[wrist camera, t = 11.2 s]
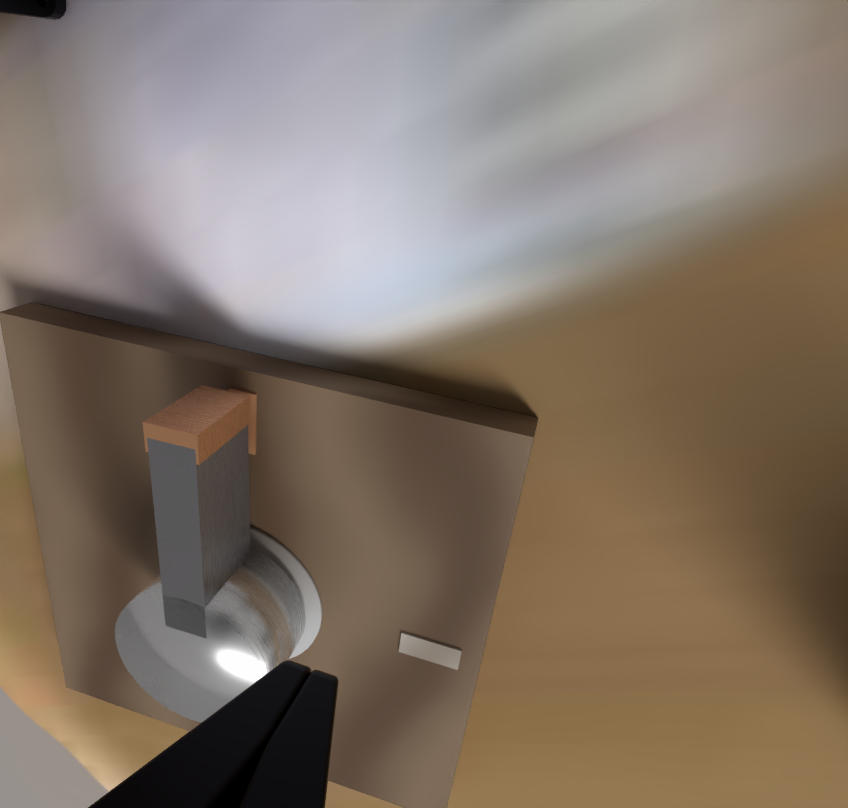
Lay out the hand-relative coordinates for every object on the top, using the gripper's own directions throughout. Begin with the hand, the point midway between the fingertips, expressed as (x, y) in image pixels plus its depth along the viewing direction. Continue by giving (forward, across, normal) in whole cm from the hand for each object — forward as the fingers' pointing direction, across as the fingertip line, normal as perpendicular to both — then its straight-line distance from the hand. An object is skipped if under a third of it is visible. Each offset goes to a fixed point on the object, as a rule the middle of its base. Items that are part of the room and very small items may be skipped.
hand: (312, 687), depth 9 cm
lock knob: (+11, +7, +8) cm, 15 cm away
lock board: (+13, +7, +11) cm, 19 cm away
